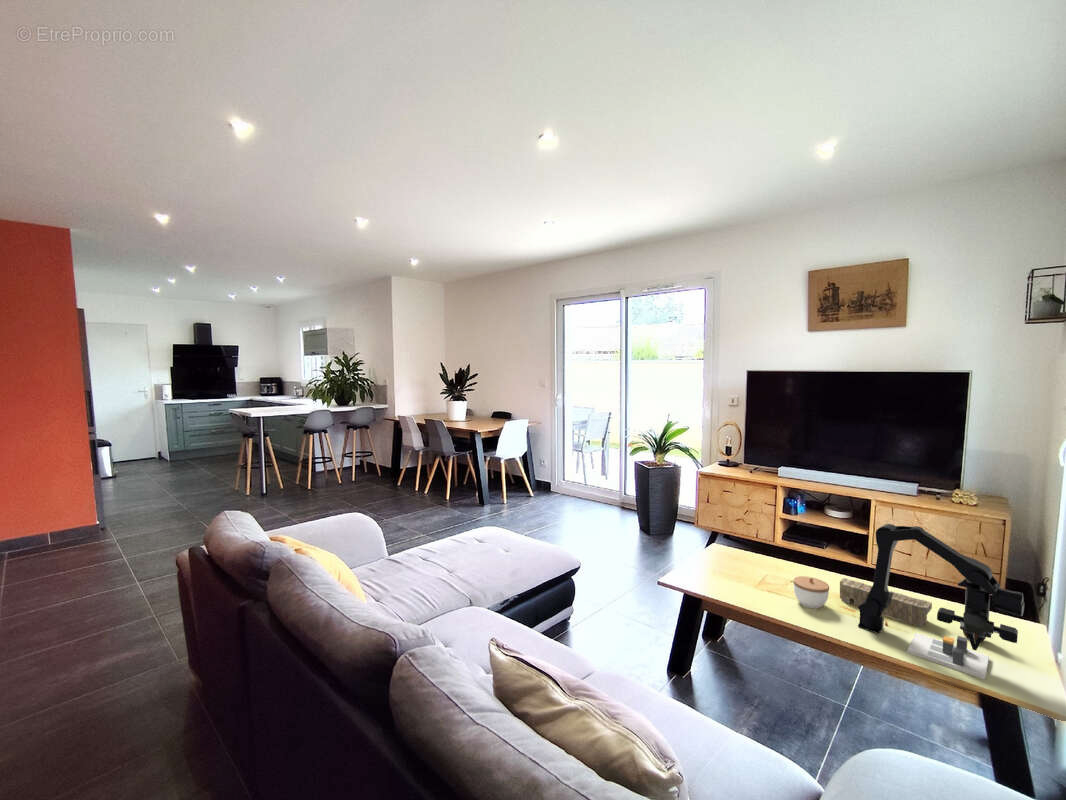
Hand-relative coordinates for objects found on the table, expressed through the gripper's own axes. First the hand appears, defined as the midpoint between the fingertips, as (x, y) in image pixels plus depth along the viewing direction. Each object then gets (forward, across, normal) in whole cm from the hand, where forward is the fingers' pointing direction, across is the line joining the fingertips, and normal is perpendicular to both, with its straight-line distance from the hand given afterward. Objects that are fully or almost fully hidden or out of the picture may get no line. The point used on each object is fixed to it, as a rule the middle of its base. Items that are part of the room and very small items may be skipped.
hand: (974, 649), depth 152 cm
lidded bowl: (+5, -49, +6) cm, 50 cm away
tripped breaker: (+3, -6, 0) cm, 7 cm away
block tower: (+6, -28, +21) cm, 36 cm away
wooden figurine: (+5, -1, +20) cm, 21 cm away
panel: (+5, -6, 0) cm, 8 cm away
